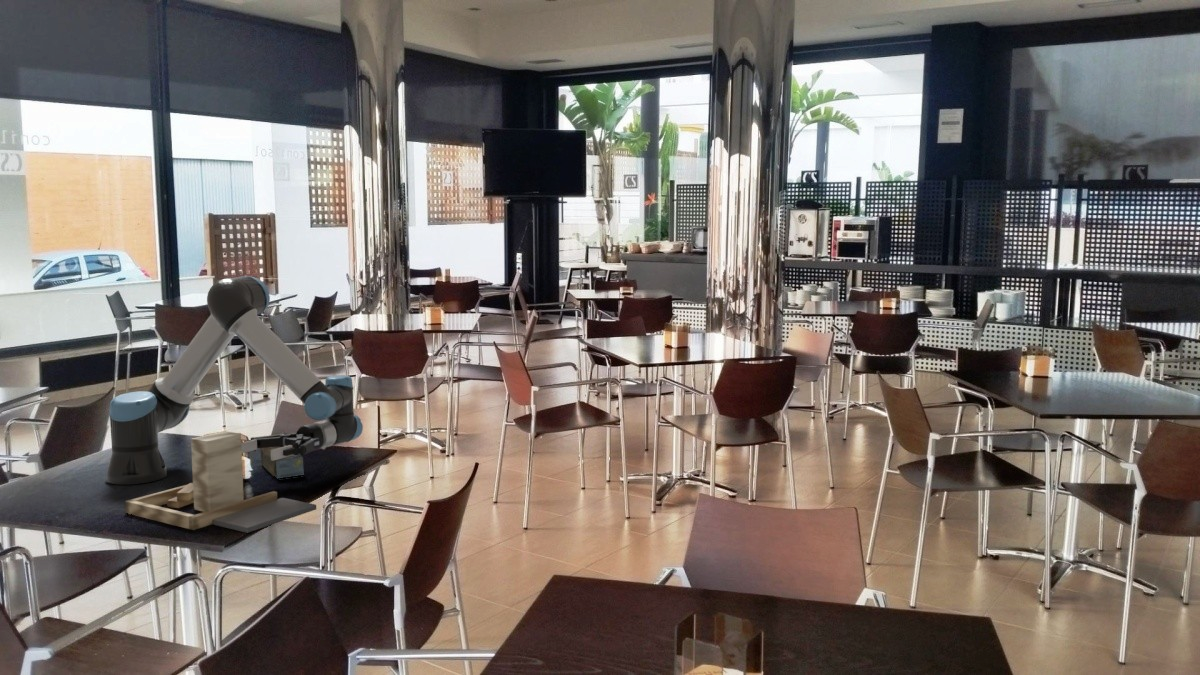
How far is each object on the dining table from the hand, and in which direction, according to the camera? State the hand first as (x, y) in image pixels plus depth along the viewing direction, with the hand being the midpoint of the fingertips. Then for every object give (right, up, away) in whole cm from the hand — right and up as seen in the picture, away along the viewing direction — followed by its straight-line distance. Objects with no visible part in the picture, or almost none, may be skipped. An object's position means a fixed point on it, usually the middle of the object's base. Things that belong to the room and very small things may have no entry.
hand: (253, 452), depth 246 cm
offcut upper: (-15, -10, -5) cm, 19 cm away
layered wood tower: (-6, -13, -8) cm, 16 cm away
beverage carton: (-2, -9, +27) cm, 28 cm away
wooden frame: (-9, -13, -10) cm, 18 cm away
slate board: (+9, -14, -16) cm, 23 cm away
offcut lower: (-15, -13, -4) cm, 20 cm away
